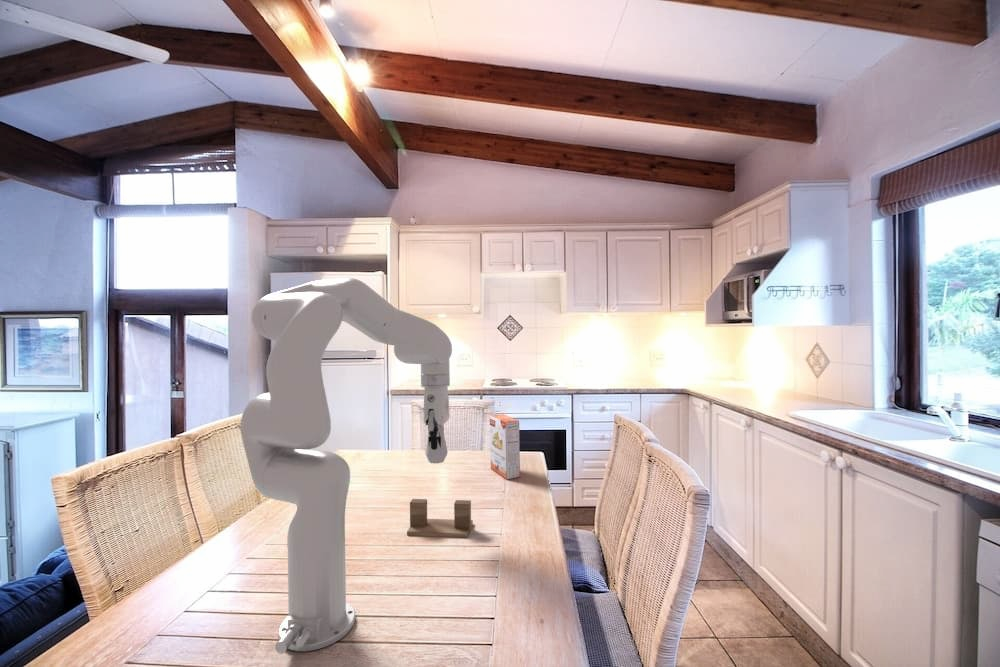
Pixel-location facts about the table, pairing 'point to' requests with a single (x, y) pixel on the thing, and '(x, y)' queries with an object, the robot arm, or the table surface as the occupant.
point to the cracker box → (505, 446)
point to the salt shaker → (439, 453)
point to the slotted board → (440, 520)
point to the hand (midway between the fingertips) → (436, 448)
